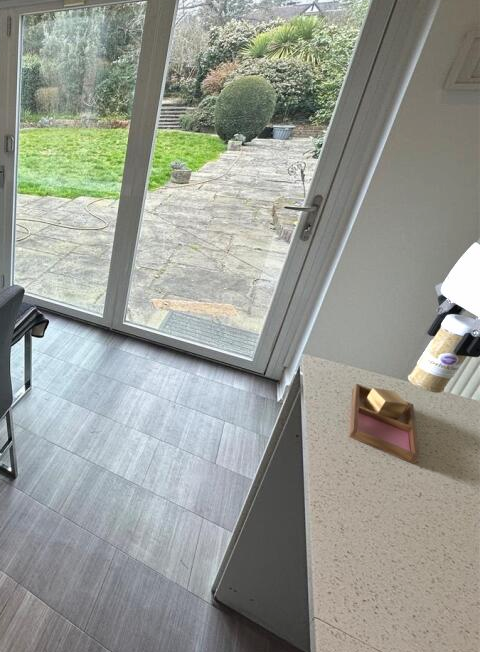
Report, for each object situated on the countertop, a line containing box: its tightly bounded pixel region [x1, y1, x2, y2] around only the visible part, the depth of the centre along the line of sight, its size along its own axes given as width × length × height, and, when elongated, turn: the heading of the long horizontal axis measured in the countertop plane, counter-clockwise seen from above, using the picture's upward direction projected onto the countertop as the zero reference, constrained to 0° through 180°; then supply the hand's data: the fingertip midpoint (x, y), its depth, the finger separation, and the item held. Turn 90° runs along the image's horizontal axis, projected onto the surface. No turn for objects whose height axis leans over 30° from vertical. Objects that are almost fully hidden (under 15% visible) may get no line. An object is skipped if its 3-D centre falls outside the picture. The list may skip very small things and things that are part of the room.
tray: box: [348, 383, 420, 465], centre depth 83 cm, size 9×18×2 cm, turn 138°
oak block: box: [364, 387, 408, 419], centre depth 85 cm, size 4×4×4 cm
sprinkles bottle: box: [407, 314, 476, 394], centre depth 69 cm, size 5×5×14 cm
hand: (451, 344), depth 68 cm, fingers closed on sprinkles bottle, 4 cm apart
